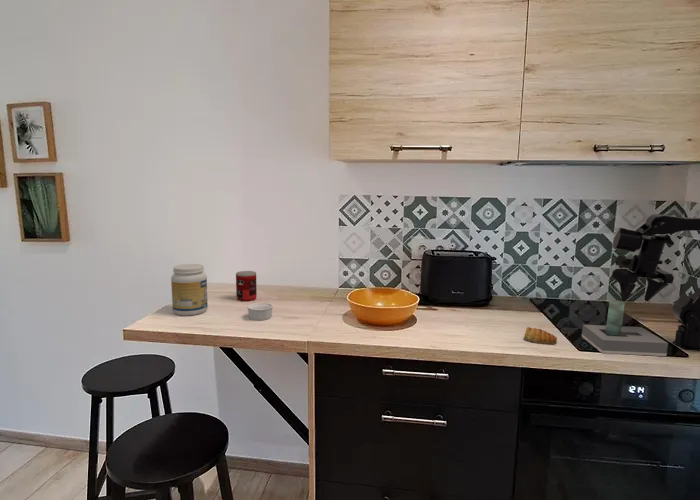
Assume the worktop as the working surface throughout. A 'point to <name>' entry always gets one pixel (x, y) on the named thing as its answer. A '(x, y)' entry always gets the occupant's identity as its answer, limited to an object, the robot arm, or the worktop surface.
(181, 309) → the supplement tub
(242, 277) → the canned food
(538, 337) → the pastry
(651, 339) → the keyhole plate
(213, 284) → the worktop surface
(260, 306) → the ramekin
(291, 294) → the worktop surface
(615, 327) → the teal post
